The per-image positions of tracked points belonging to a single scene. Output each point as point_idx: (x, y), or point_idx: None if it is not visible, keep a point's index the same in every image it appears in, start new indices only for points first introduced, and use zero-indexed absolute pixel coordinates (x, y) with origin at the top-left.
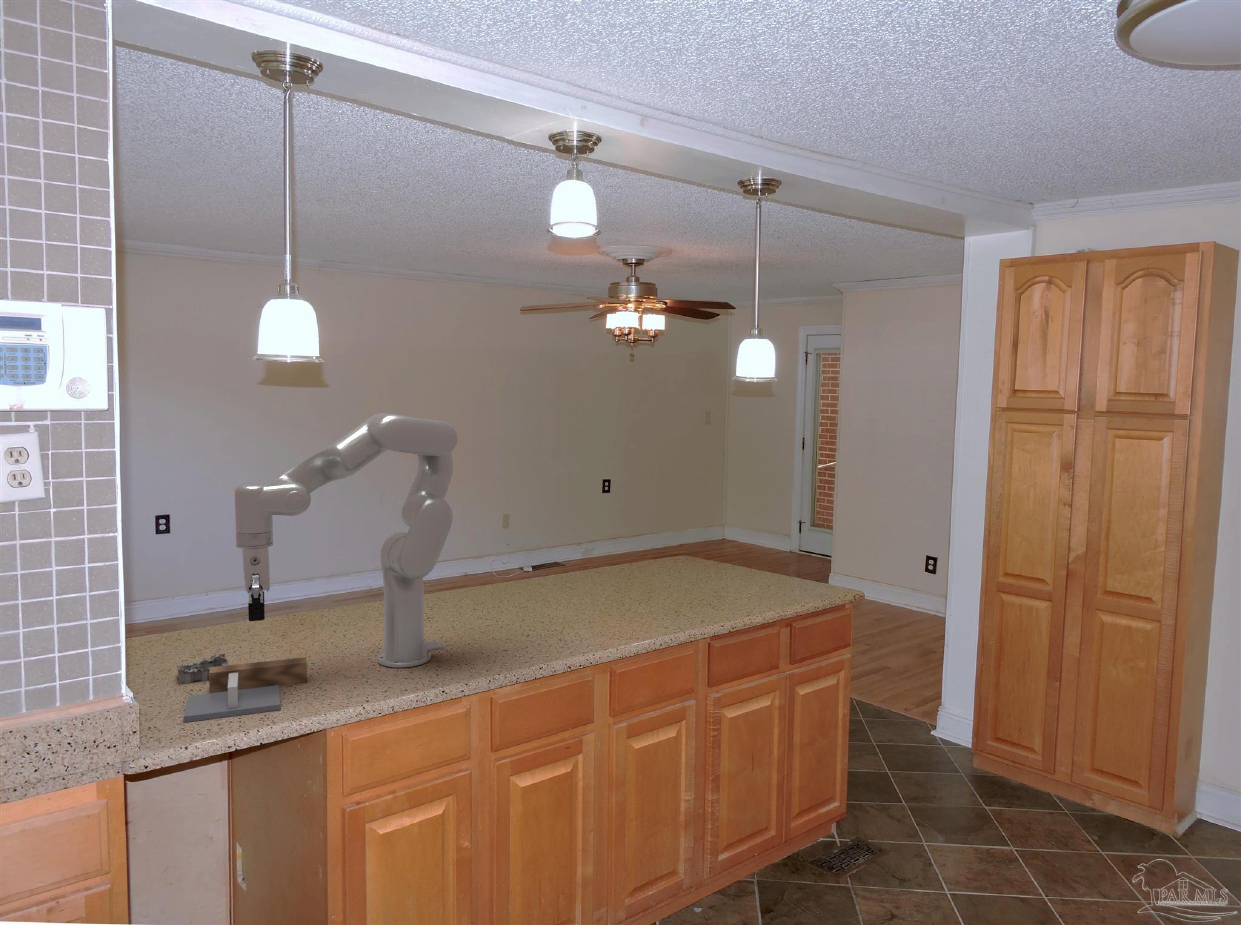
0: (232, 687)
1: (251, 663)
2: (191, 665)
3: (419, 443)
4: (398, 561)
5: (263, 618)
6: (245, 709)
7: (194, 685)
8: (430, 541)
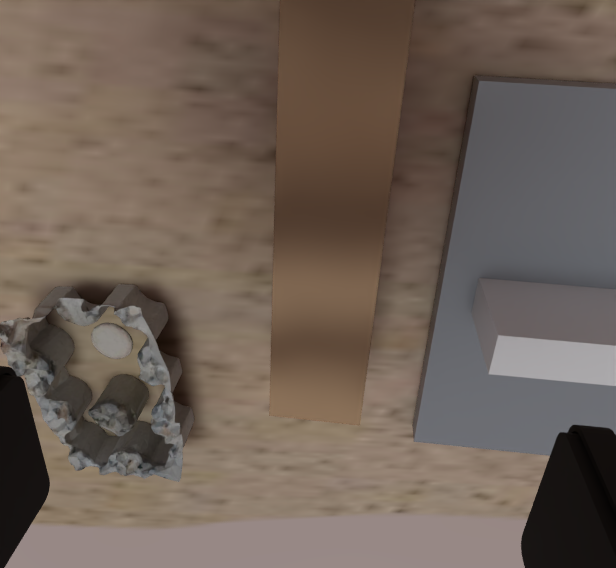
0: None
1: (284, 243)
2: (73, 425)
3: None
4: None
5: (612, 445)
6: None
7: (230, 398)
8: None
